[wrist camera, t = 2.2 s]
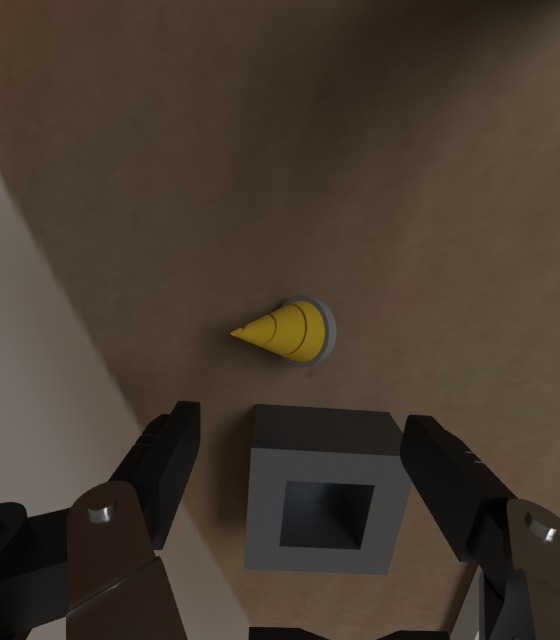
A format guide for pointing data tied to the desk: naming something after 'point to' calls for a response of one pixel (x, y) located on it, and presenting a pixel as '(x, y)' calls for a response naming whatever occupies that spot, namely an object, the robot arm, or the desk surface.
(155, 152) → the desk surface
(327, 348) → the drill bit
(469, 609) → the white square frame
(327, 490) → the bit holder
